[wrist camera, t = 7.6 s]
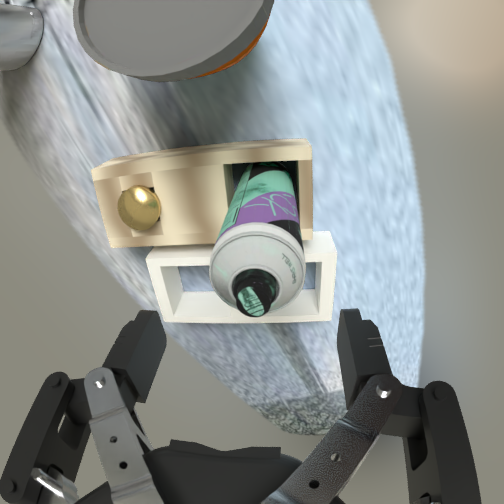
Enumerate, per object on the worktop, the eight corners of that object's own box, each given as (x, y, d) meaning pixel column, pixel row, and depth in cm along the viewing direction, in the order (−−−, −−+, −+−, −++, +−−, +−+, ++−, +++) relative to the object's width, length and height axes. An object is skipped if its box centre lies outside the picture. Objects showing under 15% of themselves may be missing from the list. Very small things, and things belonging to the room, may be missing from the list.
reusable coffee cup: (143, 1, 22) (62, -38, 9) (259, -33, 20) (246, -110, 7) (167, 100, 28) (88, 112, 15) (287, 70, 26) (299, 48, 13)
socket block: (128, 228, 36) (111, 248, 31) (113, 158, 31) (90, 169, 27) (307, 219, 34) (312, 239, 29) (306, 138, 29) (311, 146, 25)
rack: (174, 297, 40) (164, 321, 36) (160, 237, 36) (145, 258, 32) (326, 294, 38) (331, 320, 34) (329, 230, 34) (336, 252, 30)
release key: (143, 211, 34) (123, 231, 29) (135, 175, 32) (113, 190, 27) (178, 208, 34) (161, 229, 29) (171, 170, 31) (153, 185, 27)
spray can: (275, 216, 34) (273, 357, 16) (231, 192, 33) (181, 317, 15) (301, 175, 31) (334, 289, 14) (256, 149, 30) (227, 234, 13)
